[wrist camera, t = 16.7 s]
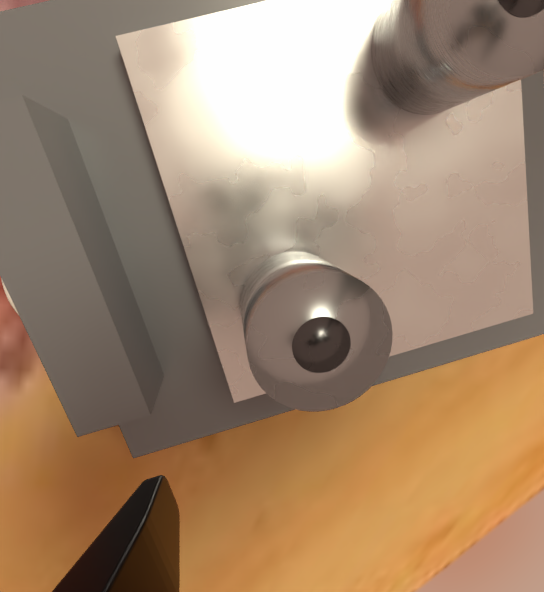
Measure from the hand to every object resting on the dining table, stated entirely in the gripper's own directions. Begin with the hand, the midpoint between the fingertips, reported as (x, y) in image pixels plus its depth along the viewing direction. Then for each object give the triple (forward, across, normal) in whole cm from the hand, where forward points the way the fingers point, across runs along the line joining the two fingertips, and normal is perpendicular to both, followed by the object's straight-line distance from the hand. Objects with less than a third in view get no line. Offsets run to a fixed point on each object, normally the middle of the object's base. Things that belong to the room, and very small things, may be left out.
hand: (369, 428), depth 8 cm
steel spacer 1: (+9, 0, 0) cm, 9 cm away
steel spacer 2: (+9, -8, -9) cm, 15 cm away
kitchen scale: (+12, -2, -4) cm, 13 cm away
